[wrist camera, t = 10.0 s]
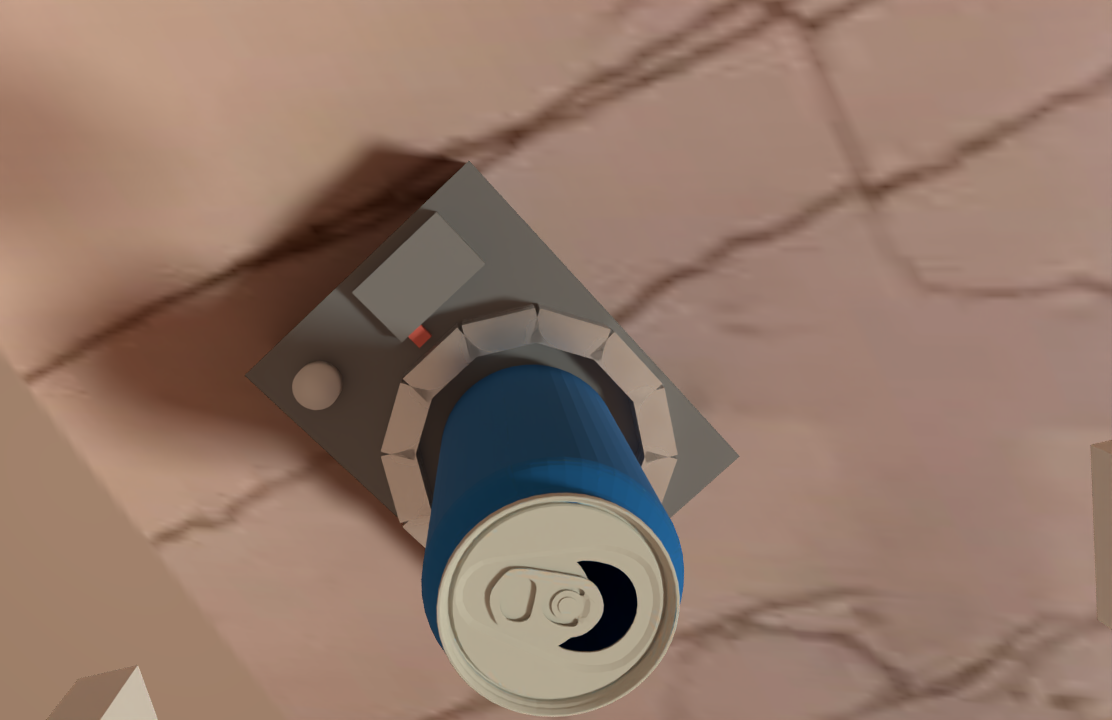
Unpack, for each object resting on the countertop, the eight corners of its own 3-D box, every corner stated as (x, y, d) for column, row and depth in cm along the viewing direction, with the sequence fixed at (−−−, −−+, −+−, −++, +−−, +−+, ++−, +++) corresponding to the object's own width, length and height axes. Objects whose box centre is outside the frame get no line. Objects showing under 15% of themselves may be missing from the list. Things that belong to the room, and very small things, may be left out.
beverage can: (594, 535, 31) (663, 748, 19) (428, 510, 30) (396, 716, 19) (631, 376, 30) (727, 501, 18) (458, 345, 29) (444, 455, 17)
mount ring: (329, 442, 29) (322, 453, 28) (537, 247, 29) (539, 250, 27) (522, 623, 32) (524, 640, 30) (720, 447, 31) (730, 457, 30)
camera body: (272, 352, 32) (238, 380, 28) (469, 163, 32) (468, 159, 27) (525, 591, 36) (532, 652, 31) (710, 426, 35) (746, 463, 30)
